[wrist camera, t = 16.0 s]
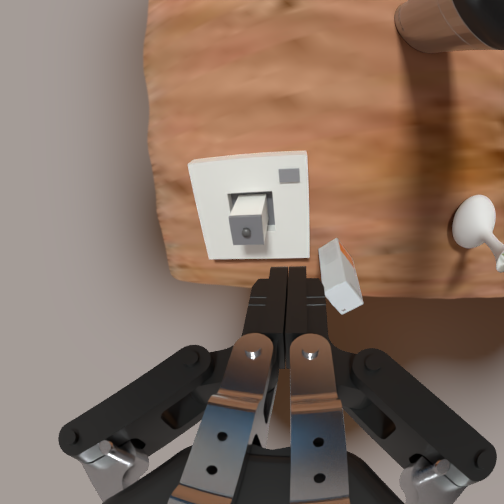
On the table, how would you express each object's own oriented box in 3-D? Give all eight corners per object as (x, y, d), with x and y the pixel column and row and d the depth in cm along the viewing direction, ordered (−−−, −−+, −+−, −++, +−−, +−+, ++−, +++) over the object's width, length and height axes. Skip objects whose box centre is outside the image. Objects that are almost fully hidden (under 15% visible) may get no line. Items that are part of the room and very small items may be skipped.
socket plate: (306, 150, 38) (307, 155, 36) (308, 249, 48) (309, 259, 46) (193, 159, 42) (186, 165, 39) (212, 251, 52) (208, 260, 49)
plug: (266, 193, 43) (260, 218, 36) (268, 218, 45) (263, 246, 38) (238, 195, 44) (227, 219, 37) (242, 219, 46) (232, 247, 39)
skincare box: (353, 258, 48) (364, 304, 38) (334, 269, 50) (341, 316, 40) (336, 236, 46) (346, 280, 36) (317, 247, 48) (321, 294, 38)
